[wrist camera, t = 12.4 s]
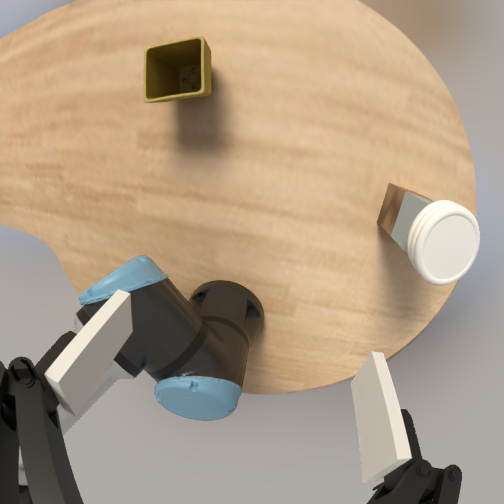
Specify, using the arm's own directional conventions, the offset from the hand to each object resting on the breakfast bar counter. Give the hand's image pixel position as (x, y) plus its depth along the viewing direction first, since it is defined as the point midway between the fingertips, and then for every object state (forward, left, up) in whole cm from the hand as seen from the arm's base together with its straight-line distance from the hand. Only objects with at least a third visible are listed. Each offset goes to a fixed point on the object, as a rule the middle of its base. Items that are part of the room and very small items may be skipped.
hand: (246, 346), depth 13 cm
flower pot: (+17, +17, -33) cm, 41 cm away
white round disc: (+5, -21, -19) cm, 29 cm away
